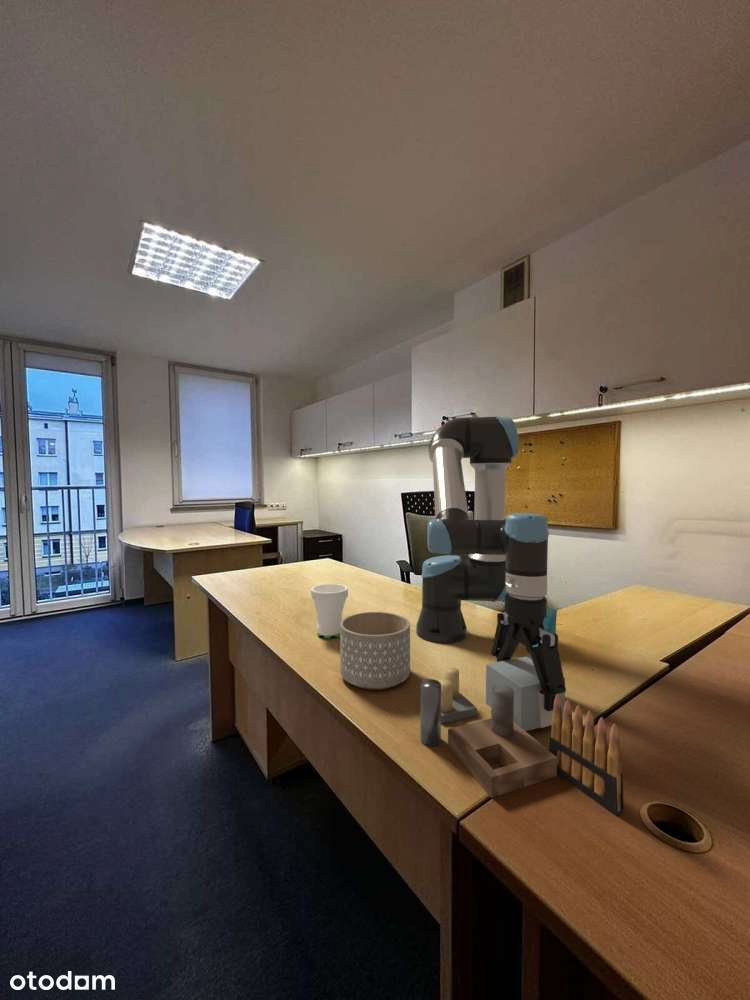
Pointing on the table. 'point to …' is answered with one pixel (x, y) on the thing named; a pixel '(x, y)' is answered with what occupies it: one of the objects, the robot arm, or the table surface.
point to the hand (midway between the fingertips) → (524, 709)
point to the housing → (518, 688)
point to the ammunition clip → (588, 756)
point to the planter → (375, 650)
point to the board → (454, 698)
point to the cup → (329, 607)
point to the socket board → (501, 749)
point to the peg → (430, 712)
